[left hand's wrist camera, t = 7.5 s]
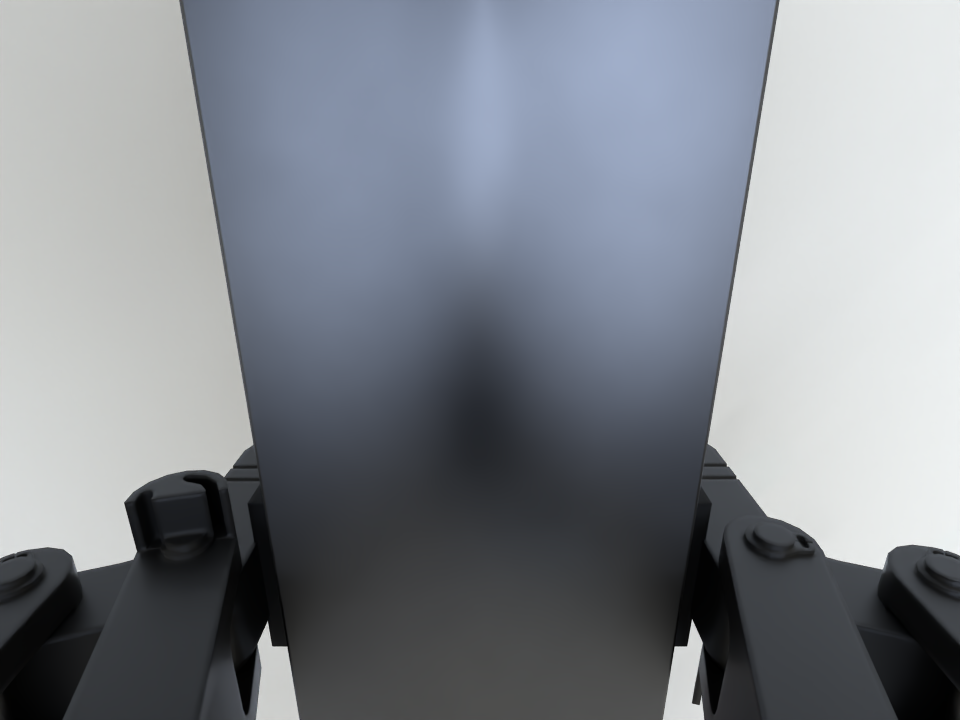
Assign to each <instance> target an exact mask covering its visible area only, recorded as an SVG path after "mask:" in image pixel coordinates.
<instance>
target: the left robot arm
mask: <svg viewBox="0 0 960 720" xmlns="http://www.w3.org/2000/svg"><path fill="white" fill-rule="evenodd" d="M124 504H125V508H126V511H127V515H128V519H129V523H130V526H131V530H132V534H133V538H134V541H135V545H136V549H137V553H136V556H135V558H134V560H131V561H127V562H123V563H119V564H115V565H110V566H105V567H100V568H95V569H91V570H86V571H81V572H77V570H76V567H75V564H74V561H73V558H72V556H71V555H70V554H69V553H67V552H66V551H65V550H63V549H56V548H49V547H47V548H39V549H31V550H25V551H21V552H17V553H16V554H11V555H8V556H5V557H3V558H1V559H0V720H256V712H257V703H258V694H259V685H260V676H261V662H260V656H259V651H258V645H257V644H258V641H259V639H260V637H261V635H262V632H263V630H264V628H265V626H266V623H267V621H268V624H269V630H270V636H271V641H272V646H287V641H286V635H285V629H284V623H283V617H282V611H281V605H280V599H279V593H278V587H277V581H276V575H275V569H274V563H273V557H272V551H271V545H270V539H269V533H268V527H267V521H266V515H265V509H264V503H263V497H262V491H261V485H260V479H259V473H258V467H257V461H256V455H255V449H254V445H253V446H251V447H250V448H248V449H247V450H245V451H244V452H243V454H242V455H241V456H240V458H239V459H238V460H237V462H236V463H235V464H234V465H233V469H230V471H229V472H228V473H227V475H226V476H225V477H223V476H221V475H220V474H219V473H215V472H210V471H206V470H196V471H184V472H179V473H174V474H170V475H166V476H164V477H161V478H159V479H156V480H153V481H151V482H149V483H147V484H145V485H144V486H142V487H141V488H139V489H138V490H136V491H134V492H133V493H132V494H131V496H130V497H129V498H128V499H127V500H126V501H125V502H124ZM692 619H693V622H694V624H695V626H696V628H697V631H698V633H699V635H700V637H701V639H702V642H703V645H702V651H701V656H700V661H699V667H698V672H697V677H696V683H695V688H694V694H693V700H692V703H693V704H697V705H700V700H701V695H702V702H703V711H704V720H960V556H959V555H957V554H954V553H951V552H949V551H943V550H942V549H938V548H933V547H926V546H918V545H907V546H899V547H896V548H895V549H893V550H892V551H891V552H889V553H888V556H887V559H886V562H885V565H884V568H883V570H881V569H876V568H872V567H867V566H862V565H857V564H852V563H847V562H843V561H838V560H834V559H831V558H827V557H825V555H824V552H823V550H822V549H821V548H820V546H819V545H818V544H817V542H816V541H815V540H814V539H813V538H812V537H810V536H809V535H808V534H806V533H805V532H804V531H802V530H801V529H799V528H797V527H795V526H793V525H791V524H788V523H786V522H784V521H782V520H778V519H774V518H769V517H767V516H766V514H765V513H764V512H763V510H762V509H761V508H760V507H759V505H758V504H757V503H756V501H755V500H754V499H753V497H752V496H751V495H750V494H749V492H748V491H747V490H746V488H745V487H744V486H743V485H742V483H741V482H740V481H739V479H736V475H735V474H734V473H733V472H732V470H731V469H730V468H729V467H727V464H726V462H725V461H724V460H723V459H722V457H721V456H720V455H719V453H718V452H717V451H716V449H714V448H713V447H711V446H710V445H708V444H707V450H706V456H705V462H704V468H703V474H702V480H701V486H700V493H699V499H698V505H697V511H696V517H695V523H694V530H693V536H692V542H691V548H690V554H689V560H688V567H687V573H686V579H685V585H684V591H683V597H682V603H681V610H680V616H679V622H678V628H677V634H676V640H675V646H687V644H688V639H689V633H690V627H691V621H692Z"/></svg>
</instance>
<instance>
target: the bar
mask: <svg viewBox="0 0 960 720" xmlns="http://www.w3.org/2000/svg"><path fill="white" fill-rule="evenodd" d="M179 1H180V7H181V13H182V19H183V25H184V31H185V37H186V43H187V49H188V55H189V61H190V67H191V73H192V79H193V85H194V91H195V97H196V103H197V109H198V115H199V121H200V126H201V132H202V138H203V144H204V150H205V156H206V162H207V168H208V174H209V180H210V186H211V192H212V198H213V204H214V210H215V216H216V222H217V228H218V234H219V240H220V246H221V252H222V258H223V264H224V270H225V276H226V282H227V288H228V294H229V300H230V306H231V312H232V318H233V324H234V330H235V336H236V342H237V348H238V354H239V360H240V366H241V372H242V378H243V384H244V390H245V396H246V402H247V408H248V414H249V419H250V425H251V431H252V437H253V443H254V449H255V455H256V461H257V467H258V473H259V479H260V485H261V491H262V497H263V503H264V509H265V515H266V521H267V527H268V533H269V539H270V545H271V551H272V557H273V563H274V569H275V575H276V581H277V587H278V593H279V599H280V605H281V611H282V617H283V623H284V629H285V635H286V641H287V647H288V653H289V659H290V665H291V671H292V677H293V683H294V689H295V695H296V701H297V707H298V712H299V718H300V720H663V714H664V708H665V702H666V696H667V690H668V683H669V677H670V671H671V665H672V659H673V653H674V647H675V640H676V634H677V628H678V622H679V616H680V610H681V603H682V597H683V591H684V585H685V579H686V573H687V567H688V560H689V554H690V548H691V542H692V536H693V530H694V523H695V517H696V511H697V505H698V499H699V493H700V486H701V480H702V474H703V468H704V462H705V456H706V450H707V443H708V437H709V431H710V425H711V419H712V413H713V406H714V400H715V394H716V388H717V382H718V376H719V370H720V363H721V357H722V351H723V345H724V339H725V333H726V326H727V320H728V314H729V308H730V302H731V296H732V290H733V283H734V277H735V271H736V265H737V259H738V253H739V246H740V240H741V234H742V228H743V222H744V216H745V209H746V203H747V197H748V191H749V185H750V179H751V173H752V166H753V160H754V154H755V148H756V142H757V136H758V129H759V123H760V117H761V111H762V105H763V99H764V93H765V86H766V80H767V74H768V68H769V62H770V56H771V49H772V43H773V37H774V31H775V25H776V19H777V13H778V6H779V0H179Z"/></svg>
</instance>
